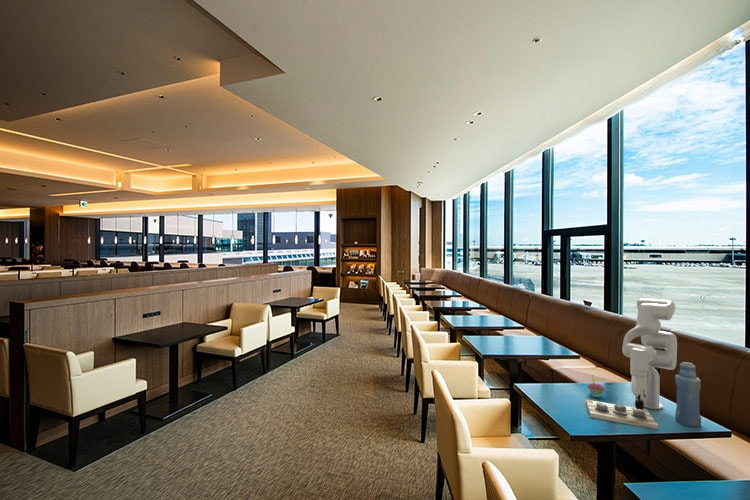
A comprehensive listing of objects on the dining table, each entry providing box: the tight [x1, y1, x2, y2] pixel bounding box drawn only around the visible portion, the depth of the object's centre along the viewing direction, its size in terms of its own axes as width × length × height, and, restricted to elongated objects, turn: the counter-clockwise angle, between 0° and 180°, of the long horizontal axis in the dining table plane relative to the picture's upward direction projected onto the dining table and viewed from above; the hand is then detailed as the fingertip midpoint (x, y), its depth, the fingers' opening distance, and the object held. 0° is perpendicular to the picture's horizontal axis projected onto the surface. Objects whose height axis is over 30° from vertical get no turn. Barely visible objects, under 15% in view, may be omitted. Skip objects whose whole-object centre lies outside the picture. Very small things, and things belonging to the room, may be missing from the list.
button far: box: [596, 404, 608, 411], centre depth 187 cm, size 5×5×2 cm
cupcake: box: [587, 374, 606, 398], centre depth 213 cm, size 9×8×12 cm
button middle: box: [614, 404, 626, 412], centre depth 184 cm, size 5×5×2 cm
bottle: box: [674, 361, 702, 428], centre depth 180 cm, size 10×10×30 cm
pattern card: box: [592, 400, 642, 411], centre depth 192 cm, size 5×22×1 cm, turn 65°
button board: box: [585, 399, 659, 430], centre depth 187 cm, size 20×28×2 cm
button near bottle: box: [633, 410, 645, 418], centre depth 181 cm, size 5×5×2 cm
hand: (639, 408), depth 181 cm, fingers closed
